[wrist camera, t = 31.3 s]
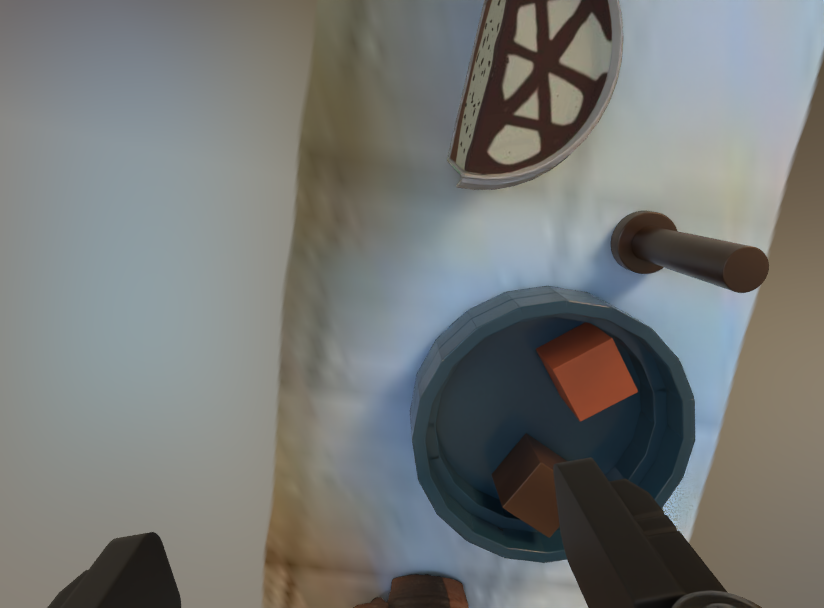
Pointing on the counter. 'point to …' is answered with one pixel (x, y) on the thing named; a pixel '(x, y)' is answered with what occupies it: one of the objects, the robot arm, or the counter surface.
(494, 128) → the food container
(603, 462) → the bowl
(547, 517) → the block
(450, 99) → the counter surface
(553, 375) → the block
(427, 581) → the pottery mug
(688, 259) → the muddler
